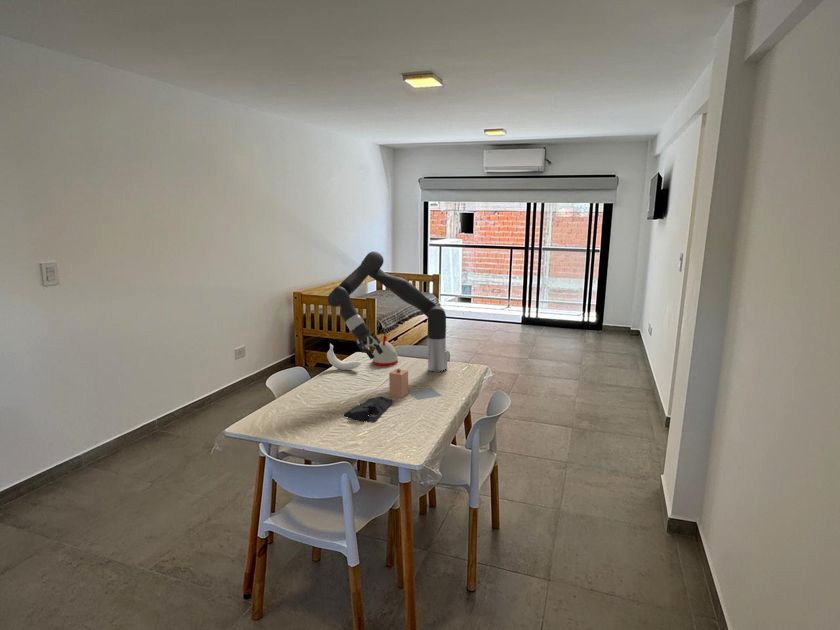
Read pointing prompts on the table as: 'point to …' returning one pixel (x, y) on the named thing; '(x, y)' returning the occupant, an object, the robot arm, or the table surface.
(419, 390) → the mat
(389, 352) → the kitchen timer
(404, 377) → the tan rectangular block
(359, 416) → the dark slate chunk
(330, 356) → the banana
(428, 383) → the table surface
